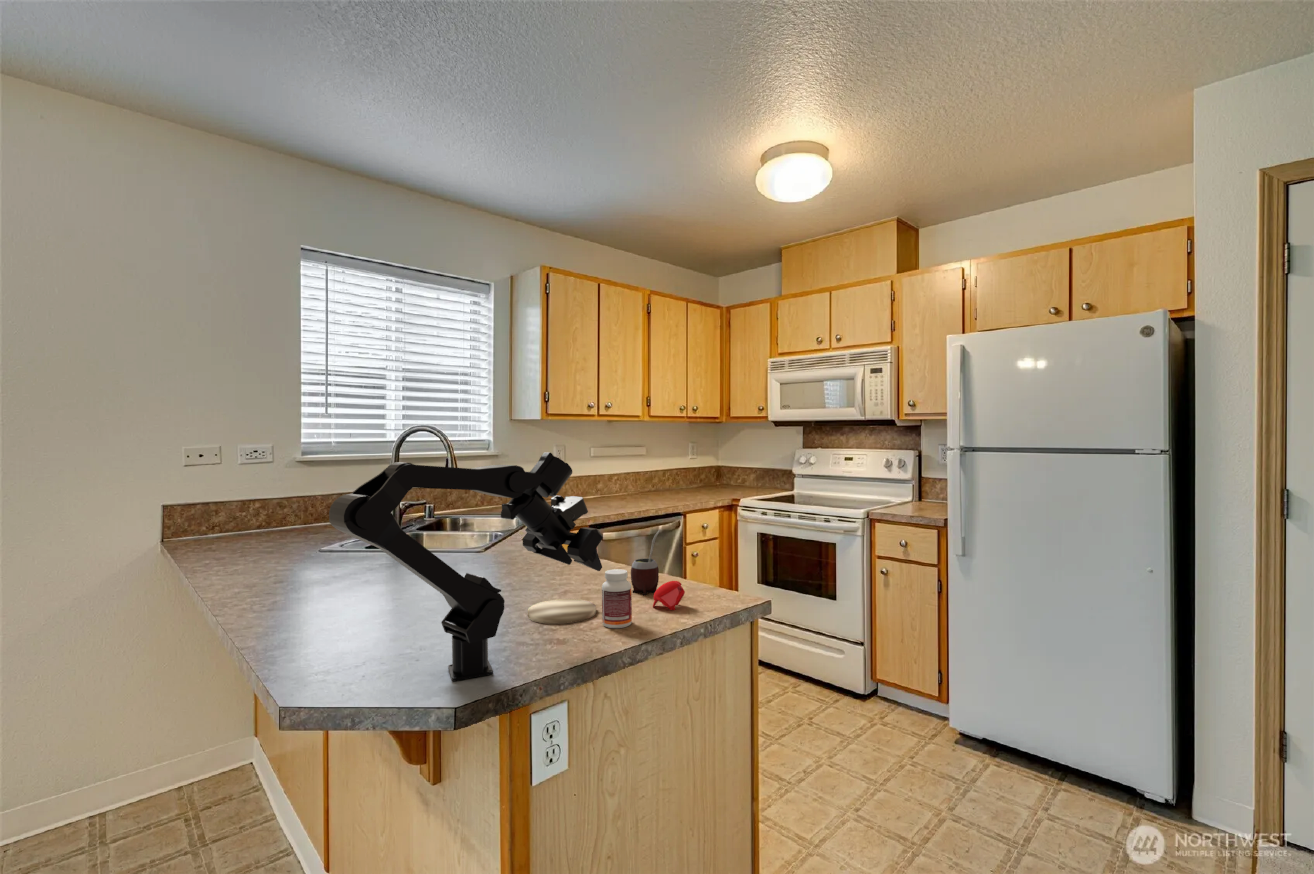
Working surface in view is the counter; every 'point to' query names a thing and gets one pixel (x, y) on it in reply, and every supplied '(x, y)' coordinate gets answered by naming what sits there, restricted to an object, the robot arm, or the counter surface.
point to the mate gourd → (645, 573)
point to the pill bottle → (616, 599)
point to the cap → (669, 594)
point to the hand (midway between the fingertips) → (585, 565)
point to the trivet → (561, 611)
